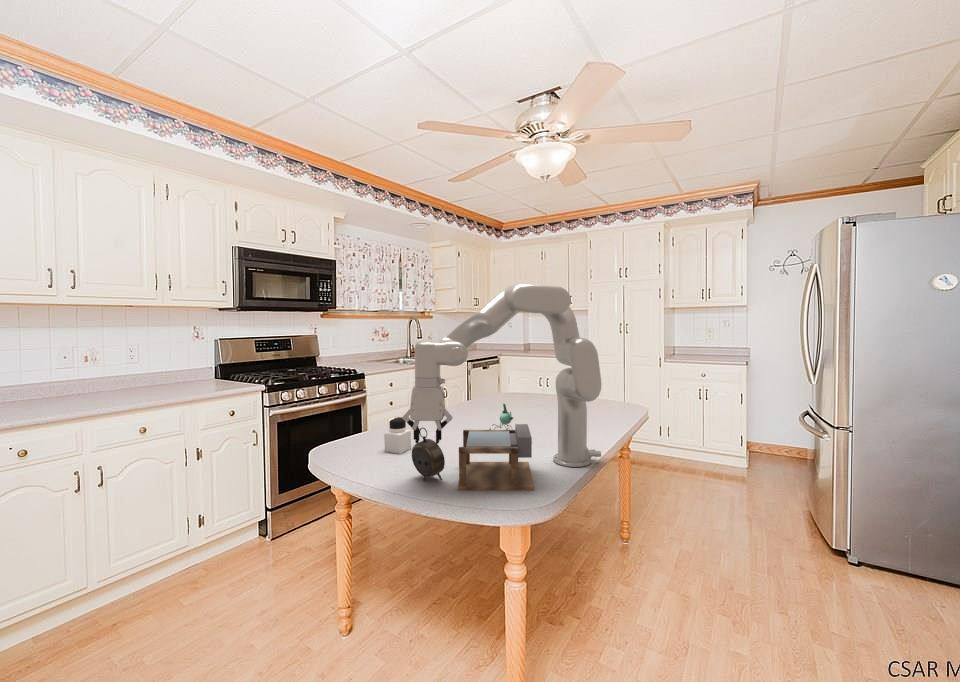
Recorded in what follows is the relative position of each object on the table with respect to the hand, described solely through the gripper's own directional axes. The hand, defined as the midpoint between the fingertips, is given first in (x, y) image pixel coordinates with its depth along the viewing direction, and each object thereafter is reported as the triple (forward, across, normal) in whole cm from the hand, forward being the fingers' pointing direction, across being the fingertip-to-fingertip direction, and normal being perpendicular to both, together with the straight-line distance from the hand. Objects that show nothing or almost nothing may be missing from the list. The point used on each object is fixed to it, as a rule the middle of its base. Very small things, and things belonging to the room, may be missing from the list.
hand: (427, 441), depth 134 cm
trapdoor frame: (+12, -21, -3) cm, 24 cm away
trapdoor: (+3, -22, -3) cm, 22 cm away
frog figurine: (+12, -24, -46) cm, 54 cm away
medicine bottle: (+12, +15, -30) cm, 35 cm away
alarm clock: (+12, -1, -1) cm, 12 cm away
